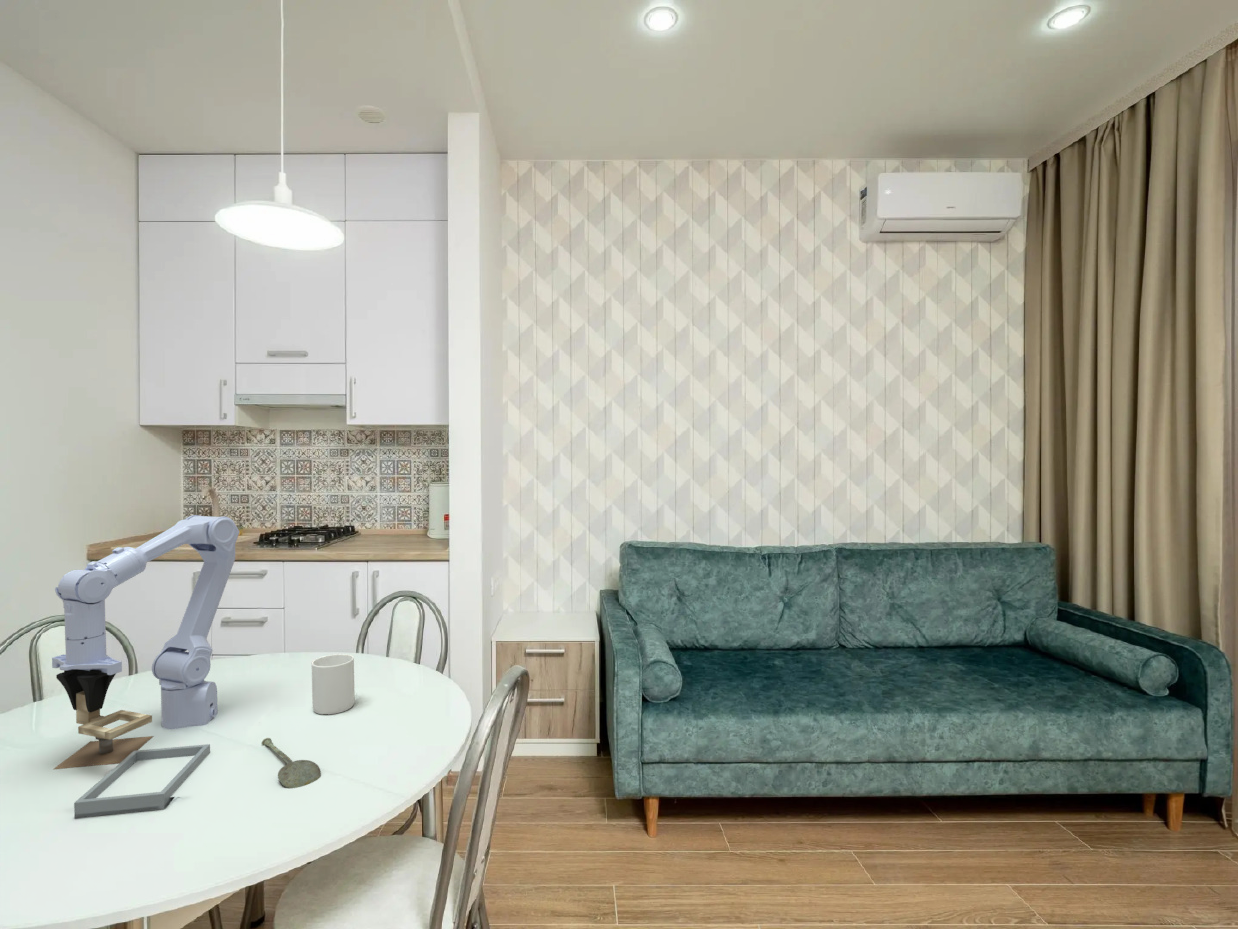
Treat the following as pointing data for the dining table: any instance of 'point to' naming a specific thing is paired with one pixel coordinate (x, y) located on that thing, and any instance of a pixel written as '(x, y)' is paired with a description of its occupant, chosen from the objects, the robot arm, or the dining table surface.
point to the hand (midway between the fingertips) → (88, 709)
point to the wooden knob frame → (106, 720)
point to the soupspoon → (295, 769)
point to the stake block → (104, 752)
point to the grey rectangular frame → (138, 802)
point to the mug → (333, 683)
